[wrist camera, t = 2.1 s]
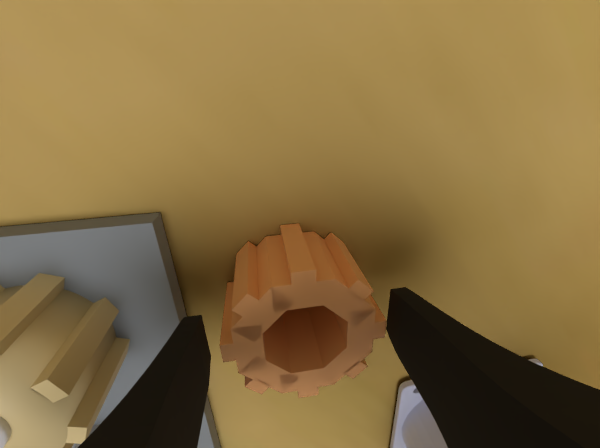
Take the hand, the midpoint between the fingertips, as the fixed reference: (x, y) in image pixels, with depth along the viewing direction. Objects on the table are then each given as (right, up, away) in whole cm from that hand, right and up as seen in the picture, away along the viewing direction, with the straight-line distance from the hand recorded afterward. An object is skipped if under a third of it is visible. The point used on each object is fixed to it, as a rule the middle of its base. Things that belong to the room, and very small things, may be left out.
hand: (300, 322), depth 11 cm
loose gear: (0, +1, +2) cm, 3 cm away
